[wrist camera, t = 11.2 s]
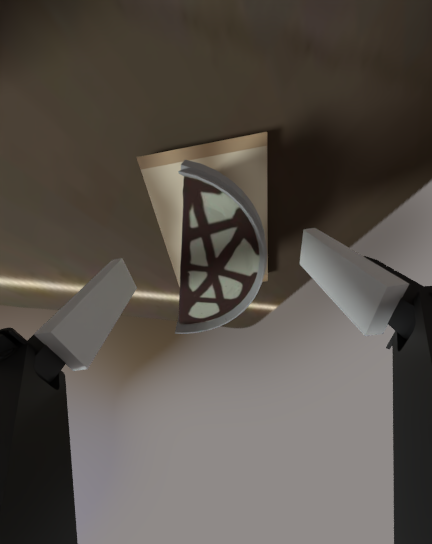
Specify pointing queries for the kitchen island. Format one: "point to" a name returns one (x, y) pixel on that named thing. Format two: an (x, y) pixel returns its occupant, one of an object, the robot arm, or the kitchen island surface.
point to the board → (219, 156)
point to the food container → (217, 250)
